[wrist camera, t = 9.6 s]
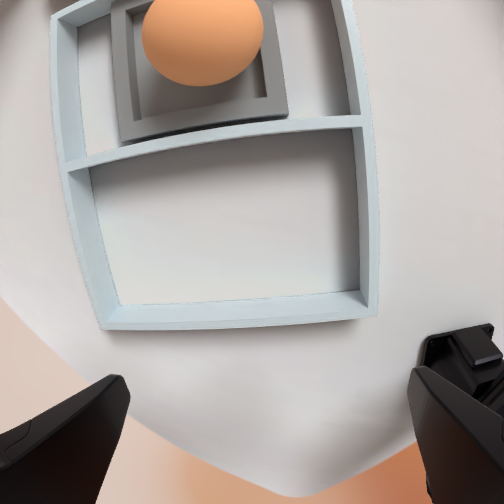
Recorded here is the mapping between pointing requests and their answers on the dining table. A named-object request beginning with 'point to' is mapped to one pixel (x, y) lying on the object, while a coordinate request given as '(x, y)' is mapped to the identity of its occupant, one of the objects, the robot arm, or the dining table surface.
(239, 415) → the dining table surface
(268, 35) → the square tray
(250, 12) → the ball
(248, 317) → the two compartment tray
